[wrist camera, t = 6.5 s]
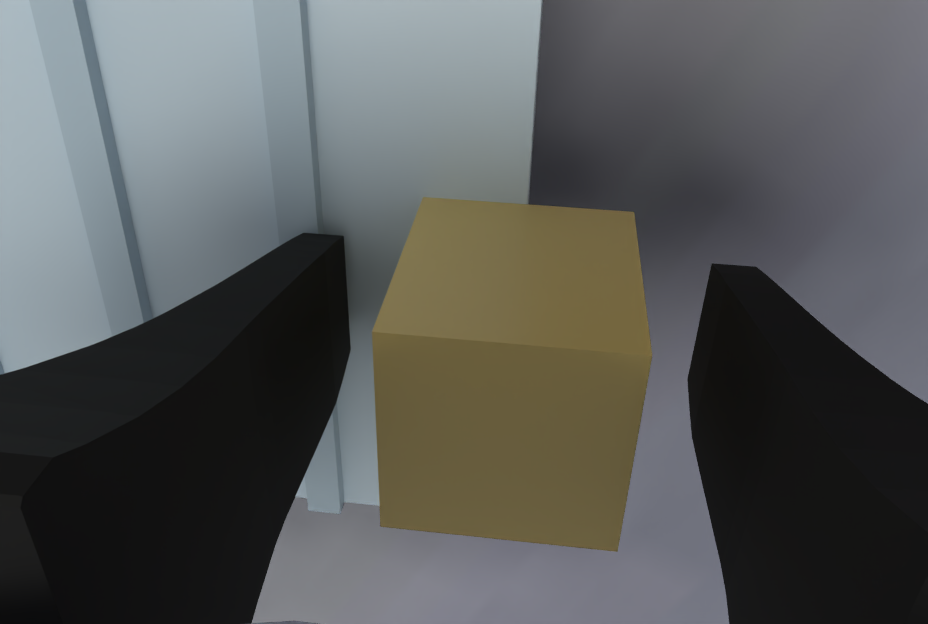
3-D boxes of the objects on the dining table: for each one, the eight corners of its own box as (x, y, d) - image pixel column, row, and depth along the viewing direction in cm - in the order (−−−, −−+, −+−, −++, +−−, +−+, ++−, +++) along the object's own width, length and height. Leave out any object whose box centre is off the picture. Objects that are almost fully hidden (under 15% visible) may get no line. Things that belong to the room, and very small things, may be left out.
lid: (587, 495, 16) (590, 706, 12) (-109, 425, 17) (-295, 599, 13) (665, -51, 11) (708, 35, 7) (-344, -96, 12) (-749, -42, 8)
